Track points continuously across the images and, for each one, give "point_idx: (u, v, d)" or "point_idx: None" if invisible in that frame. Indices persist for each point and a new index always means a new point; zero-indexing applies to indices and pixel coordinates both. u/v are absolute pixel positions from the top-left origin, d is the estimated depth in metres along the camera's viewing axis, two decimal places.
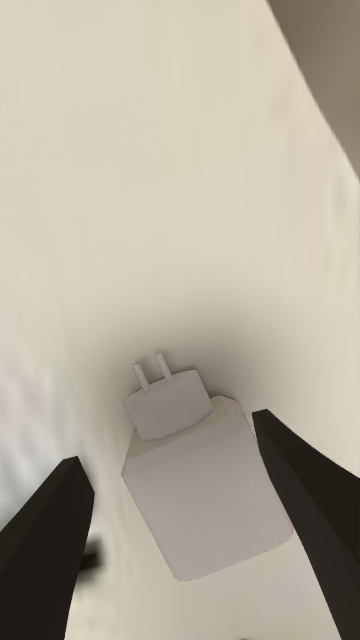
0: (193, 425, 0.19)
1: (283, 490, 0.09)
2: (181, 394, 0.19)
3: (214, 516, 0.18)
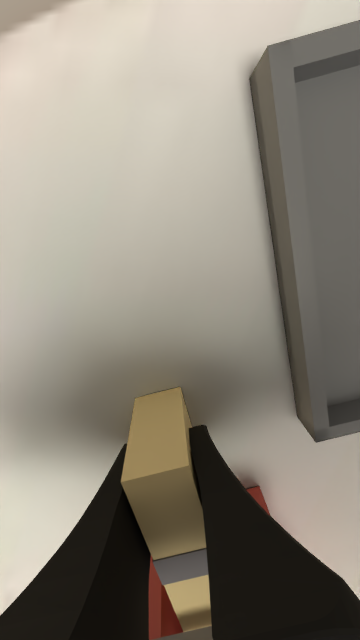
0: None
1: None
2: None
3: None
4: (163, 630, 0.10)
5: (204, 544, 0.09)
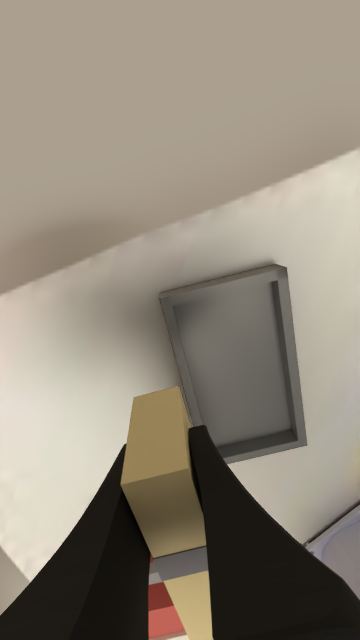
0: None
1: None
2: None
3: None
4: None
5: (203, 542, 0.09)
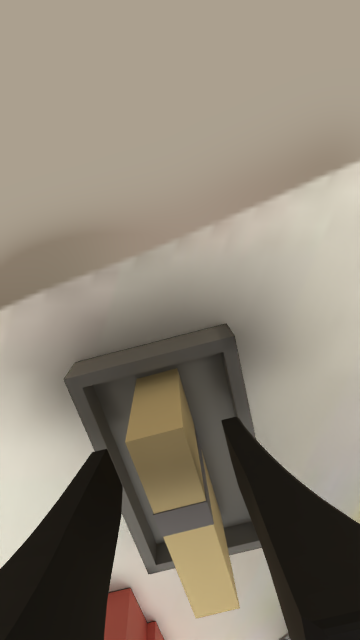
0: None
1: (247, 499, 0.09)
2: None
3: None
4: None
5: (197, 499, 0.10)
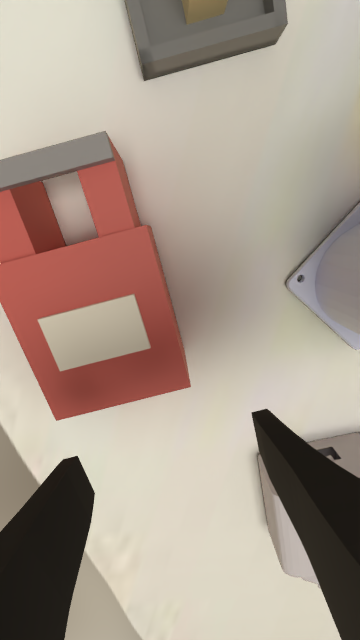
0: None
1: (283, 490, 0.09)
2: None
3: None
4: None
5: None
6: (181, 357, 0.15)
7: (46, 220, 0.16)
